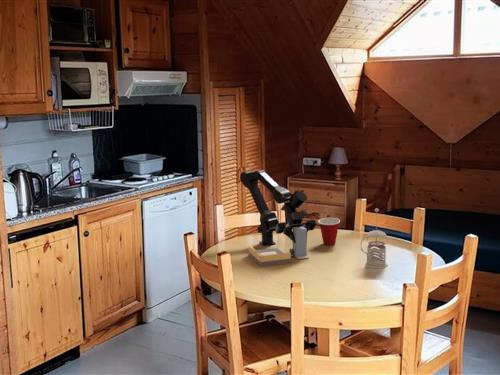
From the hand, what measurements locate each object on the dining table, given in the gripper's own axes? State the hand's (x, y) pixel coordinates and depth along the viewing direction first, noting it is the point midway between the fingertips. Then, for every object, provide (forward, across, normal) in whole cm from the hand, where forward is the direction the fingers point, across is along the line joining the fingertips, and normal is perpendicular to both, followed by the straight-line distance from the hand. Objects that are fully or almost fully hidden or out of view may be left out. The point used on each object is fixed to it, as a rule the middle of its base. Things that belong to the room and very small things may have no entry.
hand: (300, 242), depth 268 cm
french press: (+21, +25, -11) cm, 34 cm away
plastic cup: (-6, +21, +16) cm, 27 cm away
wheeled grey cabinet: (+4, 0, +6) cm, 7 cm away
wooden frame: (+3, -14, +7) cm, 16 cm away
